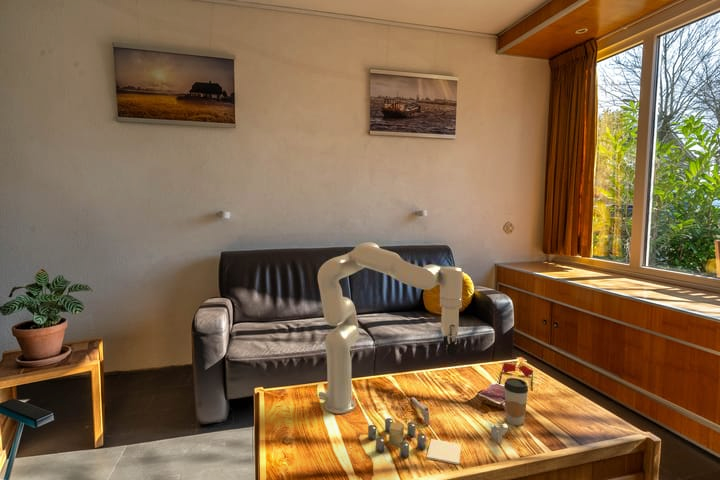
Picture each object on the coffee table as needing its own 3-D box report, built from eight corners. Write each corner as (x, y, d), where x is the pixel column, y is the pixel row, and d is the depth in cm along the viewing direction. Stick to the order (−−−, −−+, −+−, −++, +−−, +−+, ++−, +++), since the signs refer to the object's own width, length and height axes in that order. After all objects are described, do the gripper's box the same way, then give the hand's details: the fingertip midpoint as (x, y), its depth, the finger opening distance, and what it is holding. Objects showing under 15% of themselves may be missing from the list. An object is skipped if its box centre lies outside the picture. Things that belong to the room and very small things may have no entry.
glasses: (533, 376, 186) (533, 366, 185) (532, 391, 171) (533, 380, 170) (501, 371, 192) (502, 361, 191) (498, 385, 177) (499, 375, 176)
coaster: (426, 458, 125) (426, 456, 125) (431, 440, 135) (431, 438, 135) (459, 464, 122) (459, 462, 122) (461, 446, 132) (461, 444, 132)
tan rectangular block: (389, 445, 132) (389, 428, 132) (391, 438, 136) (392, 422, 135) (400, 447, 131) (401, 430, 130) (403, 440, 135) (403, 424, 134)
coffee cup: (527, 418, 149) (528, 379, 148) (526, 429, 142) (528, 389, 140) (503, 413, 153) (505, 375, 151) (501, 424, 145) (503, 384, 144)
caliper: (429, 426, 144) (429, 409, 143) (426, 426, 144) (426, 410, 143) (413, 399, 164) (413, 384, 164) (410, 399, 164) (410, 384, 163)
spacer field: (361, 450, 129) (361, 438, 129) (374, 426, 143) (374, 415, 143) (422, 462, 123) (422, 450, 123) (428, 436, 137) (429, 425, 137)
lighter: (490, 437, 137) (491, 415, 136) (494, 436, 137) (495, 414, 137) (503, 449, 130) (503, 426, 129) (507, 448, 131) (508, 425, 130)
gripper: (437, 296, 147) (436, 340, 149) (442, 308, 130) (441, 358, 132) (457, 296, 147) (456, 341, 148) (466, 308, 129) (464, 359, 131)
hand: (449, 349), depth 140 cm, fingers open, 9 cm apart
